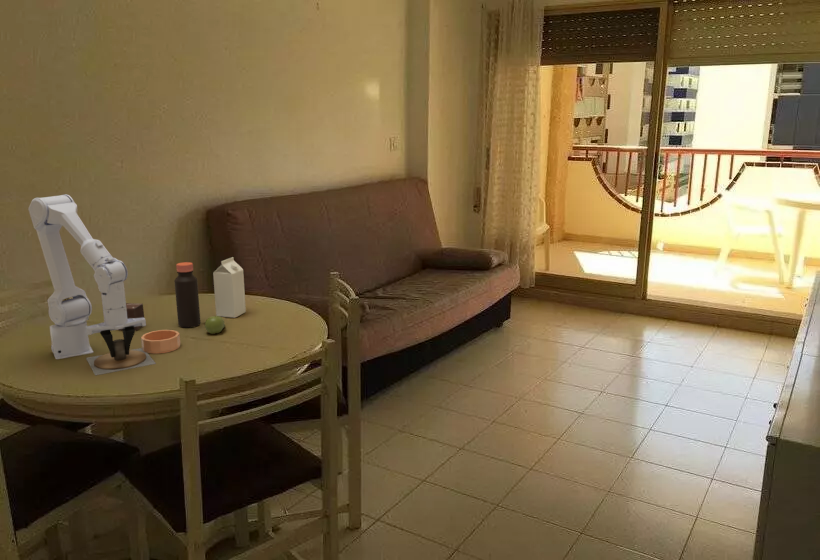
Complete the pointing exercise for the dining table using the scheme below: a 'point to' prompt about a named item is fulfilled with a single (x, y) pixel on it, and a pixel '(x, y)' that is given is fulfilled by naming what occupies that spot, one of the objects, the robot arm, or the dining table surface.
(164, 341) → the bowl
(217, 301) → the milk carton
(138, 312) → the box
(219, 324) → the pear
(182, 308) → the bottle
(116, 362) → the lid
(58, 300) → the robot arm
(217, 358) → the dining table surface
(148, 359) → the mat
